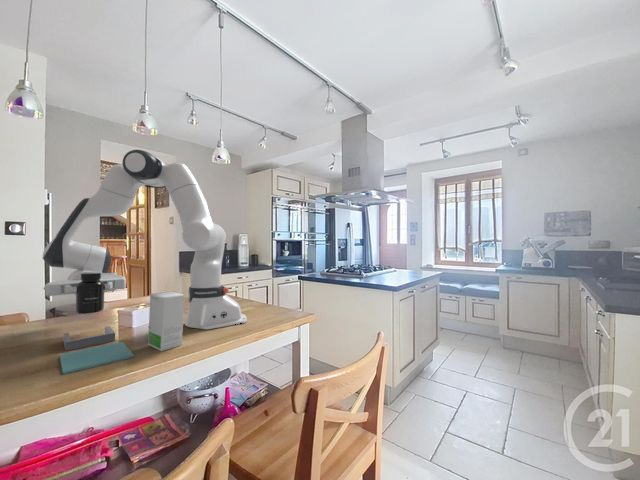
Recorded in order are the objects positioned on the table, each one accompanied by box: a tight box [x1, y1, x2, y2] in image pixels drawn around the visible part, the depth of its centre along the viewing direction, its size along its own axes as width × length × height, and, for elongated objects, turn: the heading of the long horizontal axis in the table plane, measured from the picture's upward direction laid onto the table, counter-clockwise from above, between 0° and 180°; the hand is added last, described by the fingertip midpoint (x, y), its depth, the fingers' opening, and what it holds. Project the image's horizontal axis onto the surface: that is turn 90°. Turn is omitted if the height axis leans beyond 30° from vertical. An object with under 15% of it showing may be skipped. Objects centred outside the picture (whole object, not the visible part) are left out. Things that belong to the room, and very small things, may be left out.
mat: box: [59, 341, 135, 375], centre depth 74 cm, size 14×14×1 cm
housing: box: [62, 325, 116, 352], centre depth 85 cm, size 10×11×2 cm
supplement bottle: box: [75, 273, 105, 315], centre depth 86 cm, size 7×7×12 cm
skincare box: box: [147, 290, 185, 352], centre depth 83 cm, size 8×7×16 cm
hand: (91, 288), depth 85 cm, fingers closed on supplement bottle, 7 cm apart
